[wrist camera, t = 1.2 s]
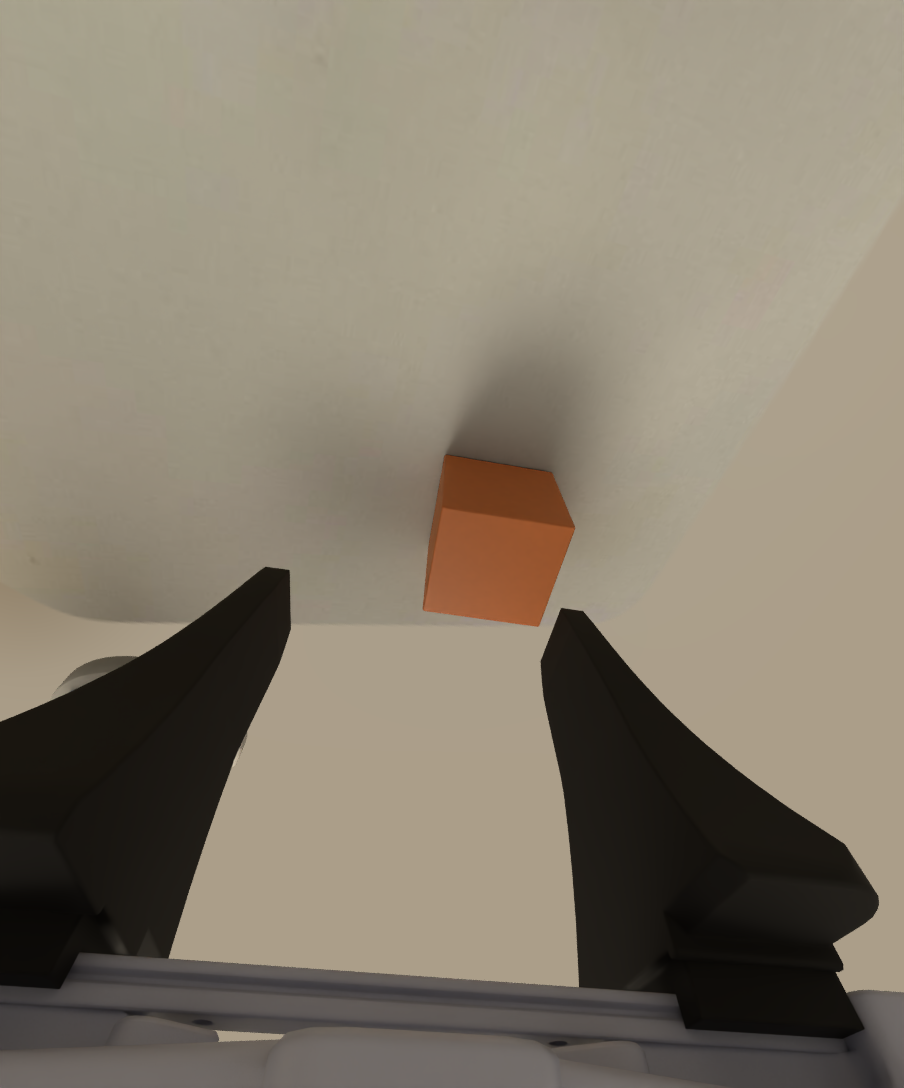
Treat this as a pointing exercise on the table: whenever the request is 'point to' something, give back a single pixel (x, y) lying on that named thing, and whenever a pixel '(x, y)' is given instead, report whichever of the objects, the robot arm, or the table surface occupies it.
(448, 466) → the block
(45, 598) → the table surface
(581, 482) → the table surface
